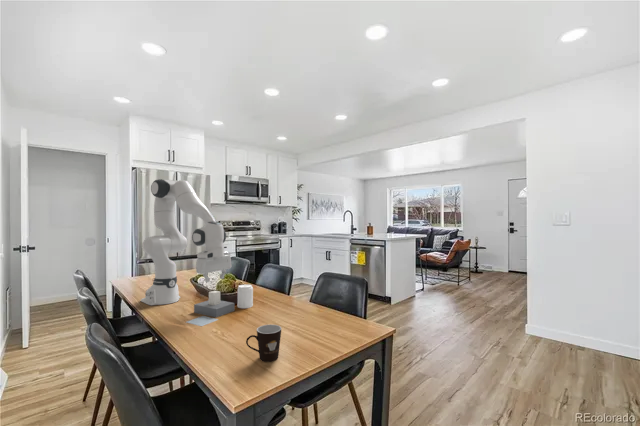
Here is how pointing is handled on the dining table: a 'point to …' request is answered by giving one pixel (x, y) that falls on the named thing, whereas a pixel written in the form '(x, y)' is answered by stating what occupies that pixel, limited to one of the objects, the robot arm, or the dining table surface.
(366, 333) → the dining table surface
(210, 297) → the plug
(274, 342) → the coffee mug
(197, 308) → the block
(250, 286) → the beverage can
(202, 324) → the mat
